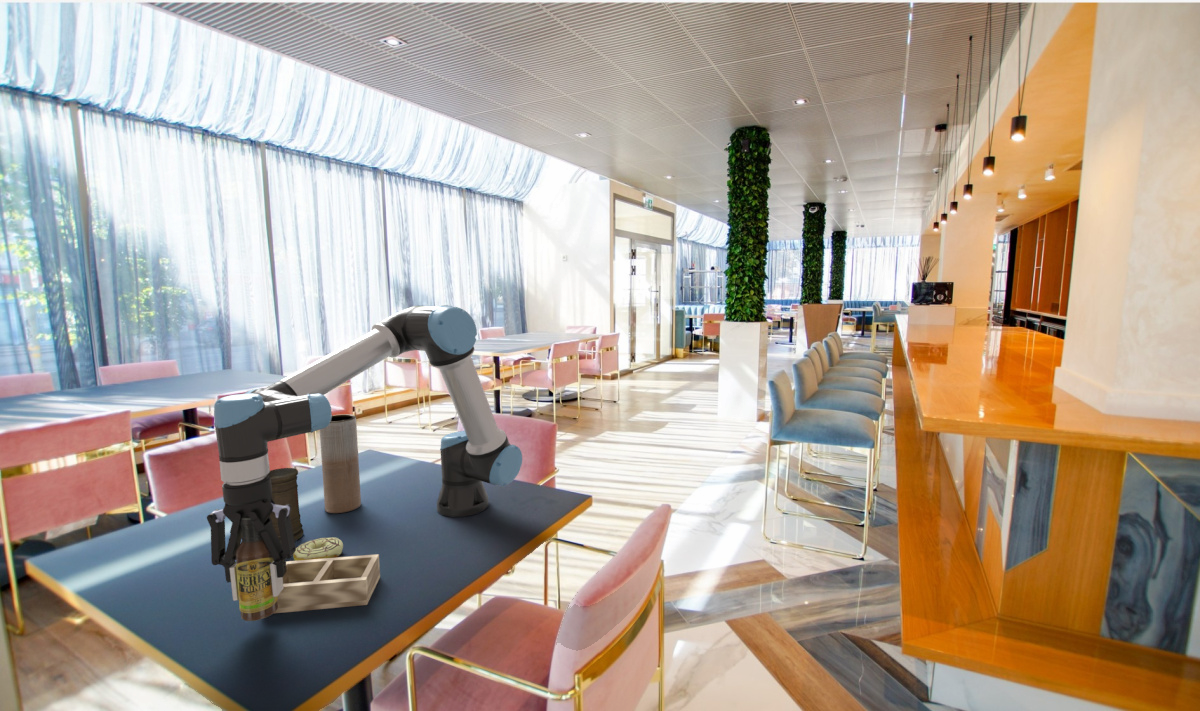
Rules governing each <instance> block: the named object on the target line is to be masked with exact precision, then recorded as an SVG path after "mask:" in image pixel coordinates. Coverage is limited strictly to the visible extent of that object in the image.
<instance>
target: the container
mask: <svg viewBox="0 0 1200 711" xmlns="http://www.w3.org/2000/svg"><path fill="white" fill-rule="evenodd" d="M268 475H269V476H270V477H271V486H272V499H273V501H274V502H275V504H276V505H282V506H285V505H286V504H290V505H291V506H292V508H291V512H290V520H291V525H292V531H293V536H294V541H295V542H296V541H298V540H300V539H301V538H302V537H303V536H304V533H305V532H304V529H303V524H302V521H301V513H300V506H299V505H300V503H299V492H298V491H299V490H298V487H299V485H298V481H297V480H298V475H299V471H298V469H297V468H293V467H283V468H282V467H281V468H275V469H271V470H270V472H269V473H268ZM270 517H271V519H272V522H273V523H272V525H273V527H274V529H275V531H276V533H277V535H278V537H279V539H280V541H281V538H280V532H279V527H278V518H276V515H275V512H272V513H271V515H270Z"/></svg>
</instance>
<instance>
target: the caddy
mask: <svg viewBox="0 0 1200 711" xmlns="http://www.w3.org/2000/svg"><path fill="white" fill-rule="evenodd" d="M286 568H287V572H286V574H285V575H284V576H283V577H282V578H283V590H282V591H281V592H280V594H279V595H278V600H277V604H278V608H277V610H276V611H275V612H274V613H273V614H280V613H293V612H304V611H313V610H315V611H316V610H324V609H325V610H326V609H327V610H328V609H335V608H345V607H357V606H367V605H368V604H369V601H370V599H371V597H372V595H373V594H374V591H375V589H376V587H377V584H378V583H379V580H380V578H381V570H380V568H381V567H380V554H376V553H375V554H365V555H351V556H338V557H336V558H324V559H312V560H299V561H295V560H289V561H286Z"/></svg>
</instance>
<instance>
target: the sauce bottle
mask: <svg viewBox="0 0 1200 711" xmlns="http://www.w3.org/2000/svg"><path fill="white" fill-rule="evenodd" d="M264 524H265V523H264ZM240 525H241V527H242V529H241V530H242V537H241V538H242V539H241V543H240V546H239V547H238V549H237V551H236V560H235V562H236V563H237V564H236V572H237V583H238V597H239V599H238V605H239V607H238V608H239V611H240V618H241V620H244V621H246V622H255V621H257V622H258V621H260V620H263V619H266V618H268V617H270V616H272V615H273V614H275V613H274V612H275V611H276V610H277V608H278V604H277V600H278V596H276V597H273V590H272V580H271V571H270V564H271V563H272V562H273V561H274V560H273V558H272V556H271V554H270V552H269V550H268V548H267V546H266V544H265V542H264V540H263V538H262V536H261V534H260V533H259V532H258V531H257V529H256V527H255V525H254V523H253V521H251V519H250V518H242V519H241V523H240Z"/></svg>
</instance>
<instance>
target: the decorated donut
mask: <svg viewBox="0 0 1200 711" xmlns="http://www.w3.org/2000/svg"><path fill="white" fill-rule="evenodd" d="M343 548H344V544H343V541H342V540H341V539H339V537H335V536H334V537H333V536H332V537H320V538H315V539H311V540H308V541H306V542H303V543H302V544H300V545H298V546H297V547H296V551H295V552H294V554H293V555H292V557H293V561H299V560H312V559H324V558H337V557H340V555H341V554H342V552H343Z"/></svg>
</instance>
